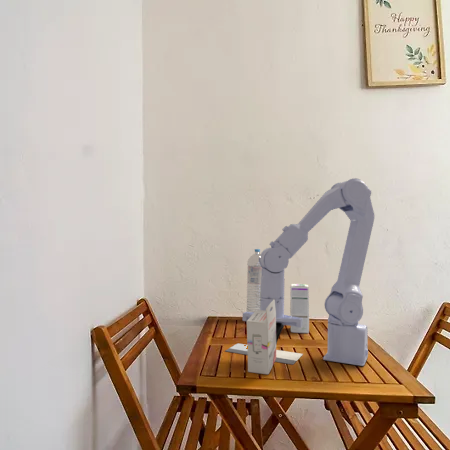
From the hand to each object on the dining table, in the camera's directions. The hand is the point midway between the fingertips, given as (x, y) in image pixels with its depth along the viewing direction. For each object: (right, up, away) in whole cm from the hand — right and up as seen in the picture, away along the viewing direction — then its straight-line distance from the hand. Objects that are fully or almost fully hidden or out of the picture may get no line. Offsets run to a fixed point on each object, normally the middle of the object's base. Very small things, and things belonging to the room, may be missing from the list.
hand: (271, 353), depth 96 cm
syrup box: (+12, -3, +29) cm, 32 cm away
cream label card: (+3, -2, +3) cm, 4 cm away
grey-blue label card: (-6, -2, +8) cm, 10 cm away
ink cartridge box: (-3, -1, -5) cm, 6 cm away
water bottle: (0, -3, +42) cm, 42 cm away
